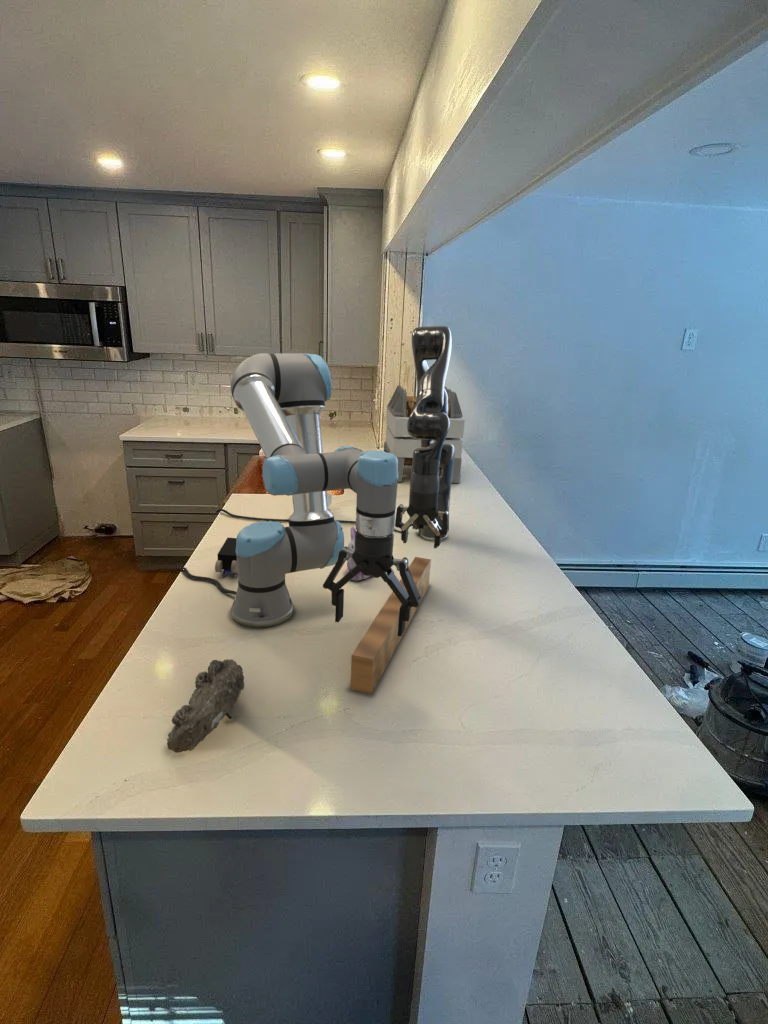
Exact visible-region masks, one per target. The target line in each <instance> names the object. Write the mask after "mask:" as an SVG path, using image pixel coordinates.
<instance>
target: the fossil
mask: <svg viewBox="0 0 768 1024" xmlns="http://www.w3.org/2000/svg"><path fill="white" fill-rule="evenodd" d="M243 670H244V669H243V667H242V665H240V664H237V662H236V661H235V660H234V659H232V658H231V659H227V658H226V659H224V660H223V661H222V660H217V659H212V660H211V661H210V663H209V665H208V666H207V671H201V672H199V673H198V674H197V675H196V676H195V680H194V684H195V685H194V687H195V689H194V690H193V693H192V694H191V697H190V698H189V700H188V704H184V705H182V706H181V707H180V709H177V710H176V711H175V713H174V715H173V716H172V718H171V723H172V724H173V727H172V730H171V731H170V732H168V734H167V738H166V741H167V742H166V745H167V749H168V750H169V751H173V752H174V753H176V754H178V753H182V752H188V751H189V752H192V751H193V750H195V748H196V747H197V746H199V744H200V743H201V742H203V741H204V740H205V739H206V738H207V737H208V736H209V735H210V734H211V733H212V732H214V730H215V729H217V727H218V726H219V724H220V722H221V721H222V720H223V719H224V718H225V716H226V717H227V719H229V720H233V717H232V715H230V714H229V710H230V709H231V708H234V706H235V704H236V703H237V702H238V699H239V697H240V695H241V693H242V691H243V690H245V689H244V688H245V675H244V671H243Z"/></svg>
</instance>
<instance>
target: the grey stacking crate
mask: <svg viewBox="0 0 768 1024" xmlns="http://www.w3.org/2000/svg"><path fill="white" fill-rule="evenodd" d="M444 389H445V390H446V392H447V395H448V415H447V416H448V418H449V420H450V427H449V431H448V434H447V436H446V439H445V441H444V444H451V445H453V446H454V448H455V459H454V466H453V473H452V482H451V484H455V483H456V484H459V483H461V472H462V461H463V460H462V453H463V442H464V441H463V440H462V439H463V438H464V431H465V430H464V429H465V419H464V418H463V411H462V408H461V405H460V402H459V398H458V395H457V392H455V391H453V390H452V389H451V388H447V386H444ZM407 394H408V393H407V390H406V389H404V388H403V387H402V385H399V384H398V385H397V386H396V388H395V390H394V392H393V394H392V395H391V398H390V400H389V402H388V404H387V405H386V413H385V414H386V415H385V423H386V428H385V438H384V442H383V451H385V452H387V453H392V454H393V455H395V456H396V457H397V459H398V475H399V477H398V483H402V482H403V475H404V469H405V466H406V467H407V466H411V467H412V459H413V452H414V450H415V449H417V448H420V447H421V439H414V438H412V437H411V436H410V435H409V433H408V431H407V422H408V419H409V416H410V414H411V412H412V410H413V408H414V406H415V404H416V399H417V396H415V395H414V396H413V395H412V396H411V395H407ZM432 441H433V442H434V440H433V439H432ZM439 473H440V475H442V471H439Z"/></svg>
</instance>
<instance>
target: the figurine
mask: <svg viewBox="0 0 768 1024" xmlns="http://www.w3.org/2000/svg"><path fill="white" fill-rule="evenodd" d="M356 531H357V530H356V527H354V526H351V527H350V540H349V542H348V545H347V547H348V548H349V550H351V551H355V533H356ZM346 566H347V570H346V574H347V573H348V572H349V571H350V570H352V569H353V568H354V567H355V566H356V564H355V562H354V560H353V559H352V557H350V558H349V560H347V561H346ZM369 578H371V576H365V575H363V573H361V572H359V573H358V574H357V575H356V576H354V577H353V578H352V579H351V580H350V581H357V582H358V581H361V580H367V579H369Z"/></svg>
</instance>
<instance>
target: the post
mask: <svg viewBox="0 0 768 1024" xmlns="http://www.w3.org/2000/svg"><path fill="white" fill-rule="evenodd" d="M431 563H432V559H430V558H426V557H419V556H415V557H414V558H413V560H412V561H411V562H410V564H409V570H410V573H411V575H412V577H413V580H414V582H415V585H416V587H417V589H418V592H419V594H420V597H421V601H422V600H423V598H424V596H425V594H426V592H427V591H428V588H429V586H430V575H431ZM399 581H400V583H401V584H402V586H403V587H404V588H405V586H404V583H403V581H402V579H401V578H400V579H399ZM405 590H406V588H405ZM406 591H407V590H406ZM401 605H402V603H401V602H400V601H399V599H398V598H397V596H396V595H395V594H394V592H393V591H391V593H390V595H389V596H388V598H387V600H386V601H385V602H384V603H383V606H382V607H381V609H380V610H379V612H378V613H377V615H376V616H375V618H374V620H373V621H372V623H371V624H370V626H369V627H368V629H367V630H366V632H365V634H363V637H362V638H361V639H360V640H359V642H358V644H357V645H356V647H355V649H354V650H353V652H352V653H351V657H350V658H351V663H350V670H351V671H350V690H351V691H356V692H359V693H364V694H368V695H372V694H373V692H374V690H375V688H376V687H377V685H378V684H379V681H380V679H381V677H382V675H383V673H384V672H385V670H386V667H387V666H388V664H389V662H390V660H391V658H392V656H393V654H394V653H395V651H396V649H397V647H398V645H399V643H400V641H401V639H402V637H403V636H404V634H405V632H406V631H407V628H408V626H409V625H410V623H411V620H412V619H413V617H414V615H415V613H416V611H417V609H418V607H411V617H410V619H409V620H408V622H407V621H405V630H404V632H403V634H402V636H401V637H400V636H398V624H399V611H400V606H401Z"/></svg>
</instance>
